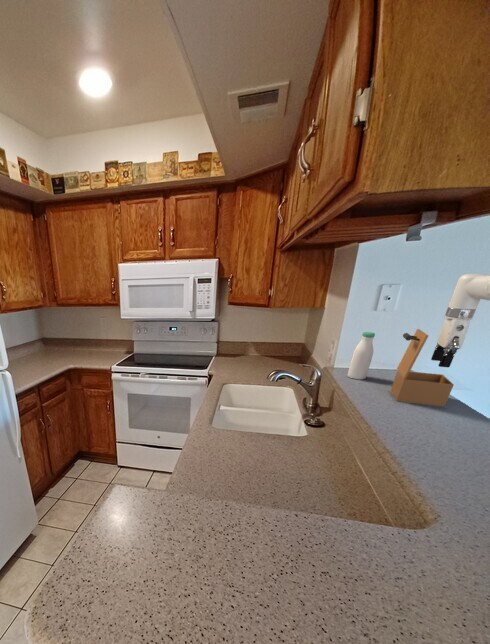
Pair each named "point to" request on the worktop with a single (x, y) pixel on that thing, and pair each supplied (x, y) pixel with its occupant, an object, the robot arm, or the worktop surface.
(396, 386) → the carton
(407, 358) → the flap
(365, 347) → the milk bottle
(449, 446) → the worktop surface
